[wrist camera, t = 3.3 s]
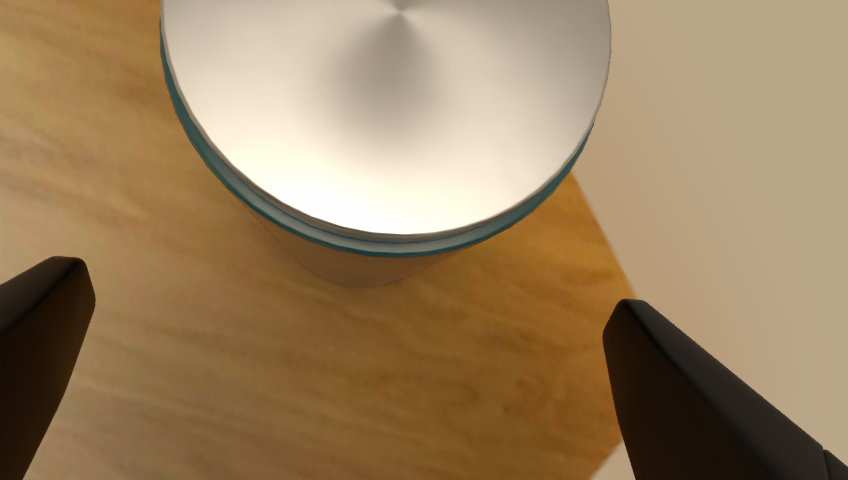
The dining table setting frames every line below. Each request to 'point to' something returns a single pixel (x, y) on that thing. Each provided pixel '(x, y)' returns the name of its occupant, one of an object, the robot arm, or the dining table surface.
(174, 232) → the dining table surface
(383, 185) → the can
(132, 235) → the dining table surface
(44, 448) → the dining table surface
